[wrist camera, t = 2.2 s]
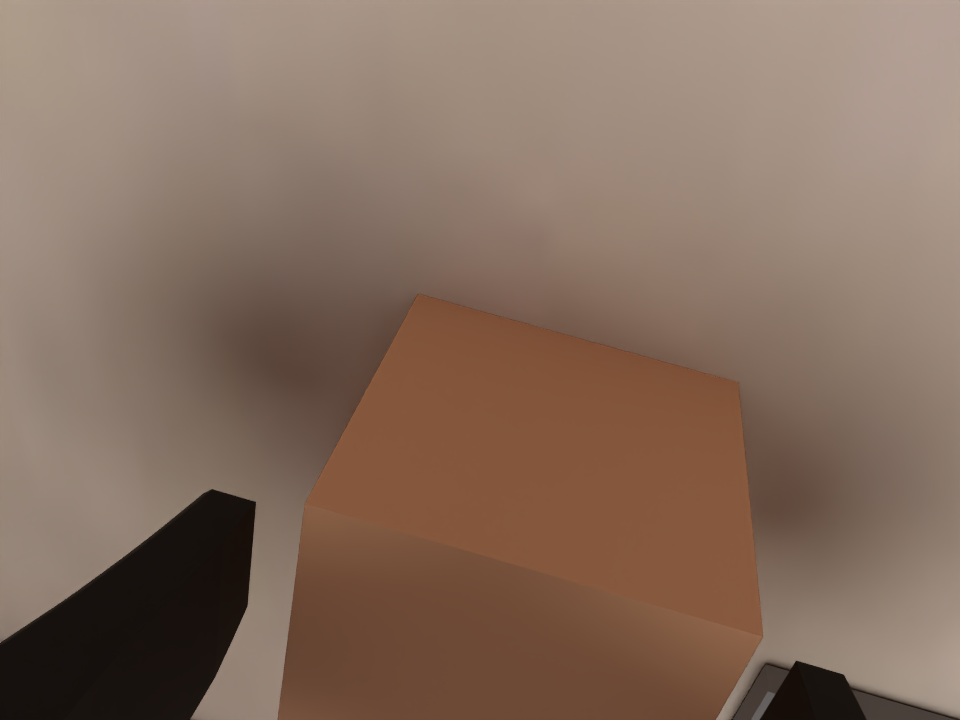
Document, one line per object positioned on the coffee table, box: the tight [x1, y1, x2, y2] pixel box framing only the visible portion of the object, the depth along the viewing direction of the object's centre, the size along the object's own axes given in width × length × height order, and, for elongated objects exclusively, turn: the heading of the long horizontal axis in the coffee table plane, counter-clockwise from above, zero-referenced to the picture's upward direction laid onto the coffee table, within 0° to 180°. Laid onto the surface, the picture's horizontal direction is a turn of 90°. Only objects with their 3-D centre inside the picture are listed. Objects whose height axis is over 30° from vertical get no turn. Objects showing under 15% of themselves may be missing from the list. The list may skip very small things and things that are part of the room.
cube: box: [278, 294, 763, 720], centre depth 13 cm, size 5×5×5 cm
